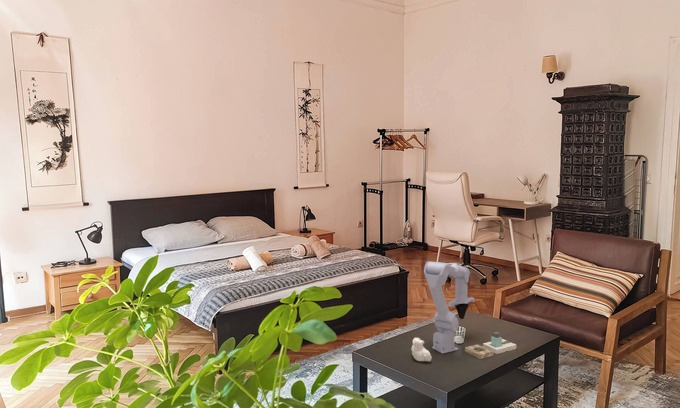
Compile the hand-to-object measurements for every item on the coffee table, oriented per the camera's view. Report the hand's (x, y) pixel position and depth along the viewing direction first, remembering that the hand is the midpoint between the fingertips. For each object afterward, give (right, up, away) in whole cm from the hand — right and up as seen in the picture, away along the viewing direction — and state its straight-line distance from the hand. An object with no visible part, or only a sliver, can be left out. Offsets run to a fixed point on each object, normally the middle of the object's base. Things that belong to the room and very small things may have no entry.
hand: (461, 318), depth 255 cm
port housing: (+15, -11, -11) cm, 22 cm away
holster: (+4, -12, -17) cm, 21 cm away
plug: (+13, -12, -13) cm, 22 cm away
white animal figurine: (-24, -14, -22) cm, 35 cm away
